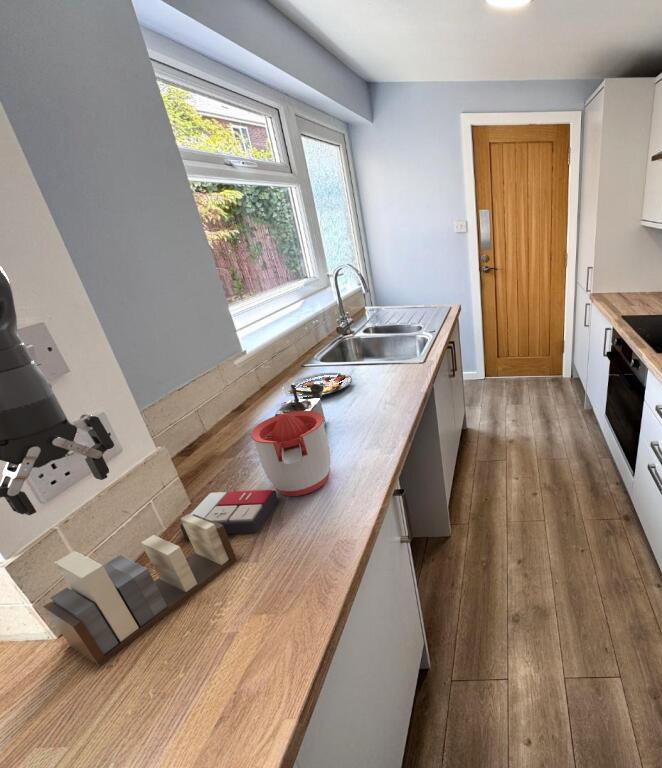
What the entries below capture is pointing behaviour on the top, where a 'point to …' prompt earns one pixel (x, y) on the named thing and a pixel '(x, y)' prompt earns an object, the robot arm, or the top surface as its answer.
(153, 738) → the top surface
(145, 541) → the book trough
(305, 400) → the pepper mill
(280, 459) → the citrus juicer
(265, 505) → the calculator
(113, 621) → the pale book
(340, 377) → the food plate
